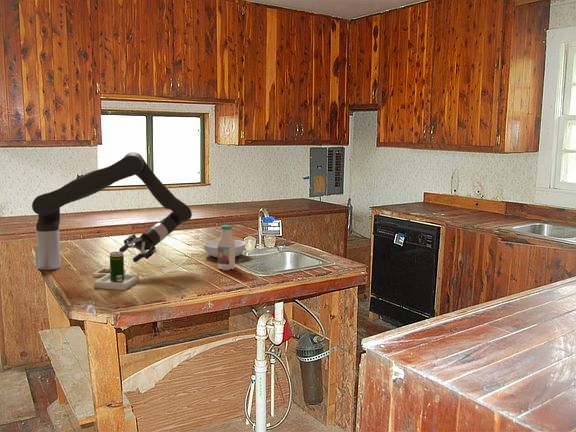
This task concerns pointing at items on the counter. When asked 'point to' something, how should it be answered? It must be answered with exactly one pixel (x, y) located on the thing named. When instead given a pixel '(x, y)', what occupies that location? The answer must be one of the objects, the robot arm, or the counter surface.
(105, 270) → the collar
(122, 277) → the beer can
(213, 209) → the counter surface
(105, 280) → the tray
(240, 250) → the serving bowl
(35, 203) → the robot arm
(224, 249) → the milk bottle
